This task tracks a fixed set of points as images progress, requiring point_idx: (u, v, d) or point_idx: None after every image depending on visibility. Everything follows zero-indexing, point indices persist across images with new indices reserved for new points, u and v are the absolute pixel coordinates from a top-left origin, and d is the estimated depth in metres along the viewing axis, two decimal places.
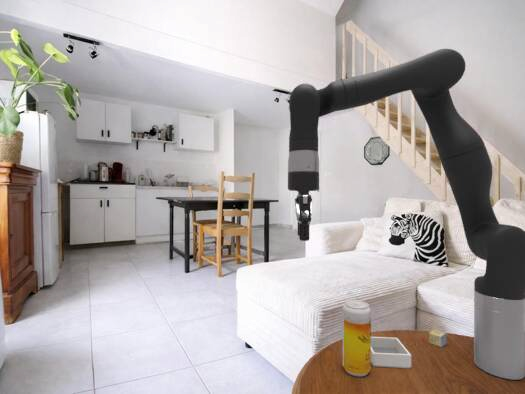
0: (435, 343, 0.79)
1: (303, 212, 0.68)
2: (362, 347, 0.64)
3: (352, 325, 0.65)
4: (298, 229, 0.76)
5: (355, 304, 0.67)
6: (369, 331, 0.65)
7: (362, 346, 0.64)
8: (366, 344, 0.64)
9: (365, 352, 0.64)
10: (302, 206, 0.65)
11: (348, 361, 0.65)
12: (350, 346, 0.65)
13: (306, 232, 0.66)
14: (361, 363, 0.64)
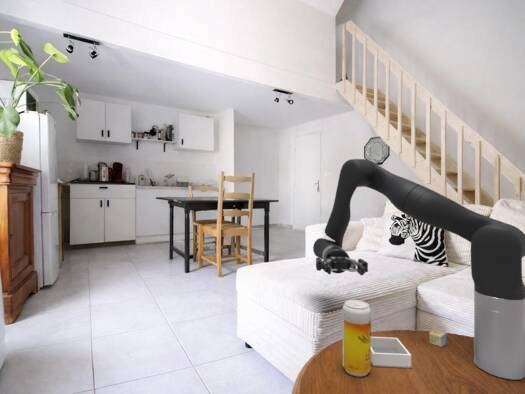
0: (435, 343, 0.79)
1: None
2: (362, 347, 0.64)
3: (352, 325, 0.65)
4: (359, 273, 0.80)
5: (355, 304, 0.67)
6: (369, 331, 0.65)
7: (362, 346, 0.64)
8: (366, 344, 0.64)
9: (365, 352, 0.64)
10: (316, 265, 0.87)
11: (348, 361, 0.65)
12: (350, 346, 0.65)
13: (324, 267, 0.81)
14: (361, 363, 0.64)
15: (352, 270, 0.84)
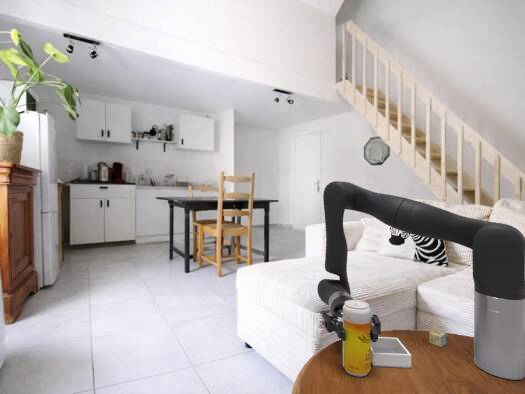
0: (435, 343, 0.79)
1: None
2: (362, 347, 0.64)
3: (351, 325, 0.65)
4: None
5: (355, 304, 0.67)
6: (369, 331, 0.65)
7: (363, 346, 0.64)
8: (366, 344, 0.64)
9: (365, 352, 0.64)
10: (324, 324, 0.73)
11: (348, 361, 0.65)
12: (350, 346, 0.65)
13: (337, 330, 0.67)
14: (361, 363, 0.64)
15: None
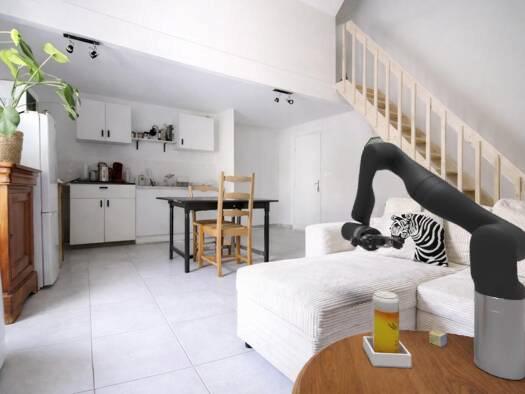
0: (435, 343, 0.79)
1: None
2: (392, 334, 0.70)
3: (382, 313, 0.70)
4: (395, 248, 0.83)
5: (384, 294, 0.73)
6: (398, 319, 0.71)
7: (392, 333, 0.70)
8: (395, 330, 0.70)
9: (395, 338, 0.70)
10: (351, 242, 0.90)
11: (378, 347, 0.71)
12: (381, 333, 0.70)
13: (362, 242, 0.84)
14: (391, 348, 0.70)
15: (387, 246, 0.88)
